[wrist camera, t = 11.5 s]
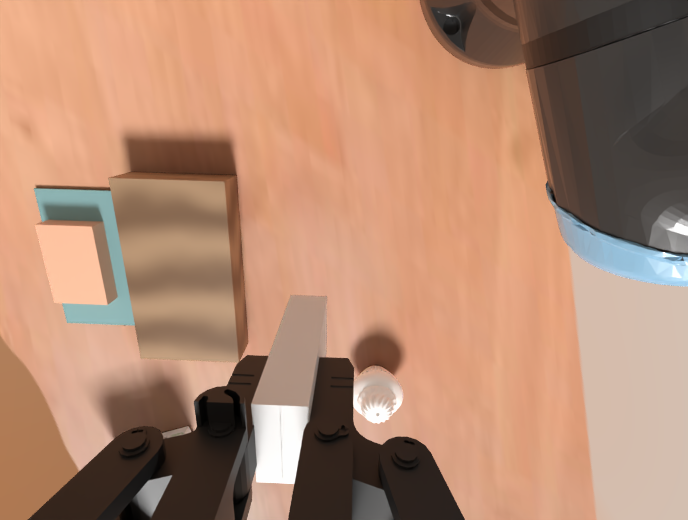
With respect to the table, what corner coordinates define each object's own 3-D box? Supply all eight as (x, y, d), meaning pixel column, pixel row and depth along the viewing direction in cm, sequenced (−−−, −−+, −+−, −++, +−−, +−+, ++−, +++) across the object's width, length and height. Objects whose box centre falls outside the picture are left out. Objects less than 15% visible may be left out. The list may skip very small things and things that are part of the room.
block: (91, 226, 41) (103, 221, 43) (34, 224, 41) (48, 219, 43) (107, 305, 44) (117, 297, 46) (54, 302, 44) (66, 295, 46)
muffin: (396, 398, 50) (402, 441, 44) (348, 394, 50) (346, 436, 44) (403, 356, 48) (410, 395, 41) (352, 352, 48) (351, 390, 42)
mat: (36, 188, 42) (33, 188, 42) (138, 191, 42) (137, 191, 42) (68, 321, 48) (67, 322, 48) (159, 325, 48) (158, 326, 47)
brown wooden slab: (130, 171, 41) (108, 178, 38) (236, 175, 41) (224, 181, 37) (157, 339, 48) (140, 358, 45) (248, 342, 48) (238, 362, 44)
